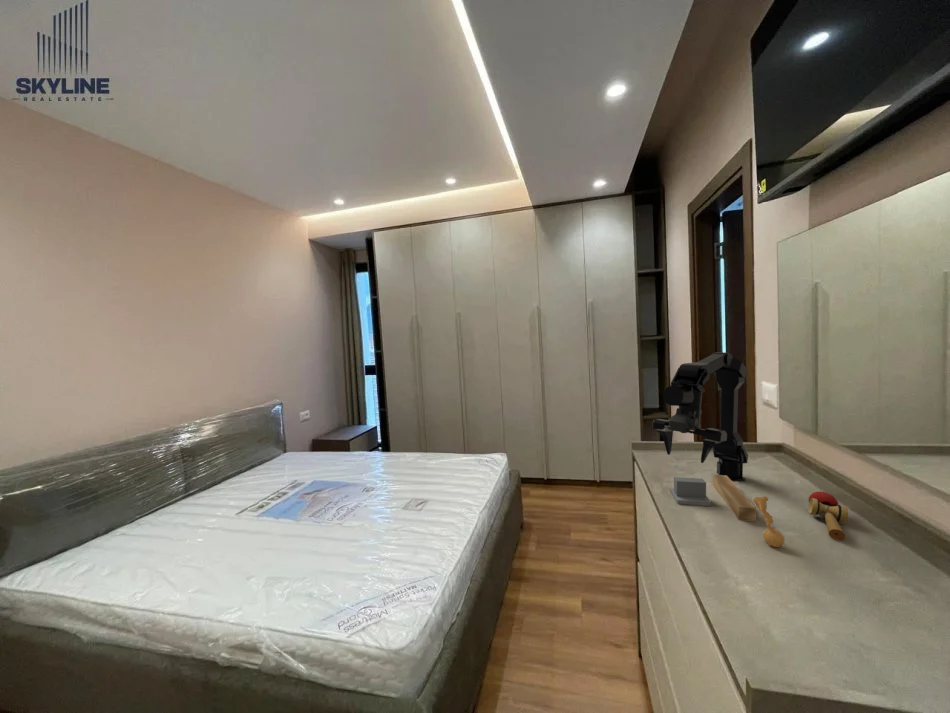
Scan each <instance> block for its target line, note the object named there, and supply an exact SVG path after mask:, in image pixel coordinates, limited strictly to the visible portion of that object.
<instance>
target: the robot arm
mask: <svg viewBox="0 0 950 713" xmlns="http://www.w3.org/2000/svg"><path fill="white" fill-rule="evenodd" d="M747 373H748V370H747V367H746V366H745V364H744V363H743V361H741V360H739V359H737V358H736V357H734V356H733V355H732V354H731V353H729V352H719V351H717V352H712V353H711V354H710V355H709V356H707V357H705V358H703V359H701V360H698V361H696V362H688V363H687V362H685V363H682V364H680V365H679V367H678V368H677V370H676V372H675V374H674V376H673V378H672V380H671V382H670V385H669V386H667V387H666V388H665V389H664V390H663V393H662V398H663V400H664V402H665V403H666V404H668V406H672V407H674V406H675V407H677V408H676V410H675V414H674V415H672V416H671V417H670V418H669V419H663V418H657V419H653V421H652V423H651V428H652V429H655V431H656V433H659V435H660V436H661V437H662V440H663V443H664V446H665V447H664V448H665V451H666V453H667V455H671V452H672V447H673V446H672V445H673V436H674V435H673V434H674V432H679V433H681V434H687V433H688V434H693V435H697V436H703V437H704V438H705V439H702V450H701V455H700V463H701V464H704V463H705V461H706V459H707V457H708V456H709V454H710V453H711V451H712V452H713V456H714V458H717V459H718V461H716V474H717V475H727V476H728V477H729V479H730V480H731V481H746V479H745V477H744V473H743V471H744V464H748V460H749V453H748V452H747V450H746V448H745V447H744V440H743V438H742V436H741V435H740V433H739V432H738V419H739V418H738V416H739V414H738V413H739V412H738V411H739V407H738V406H739V389H740V388H741V387H742V385H744V383H745V381H746V380H745V379H746V377H747ZM711 374H714V376H715V382H716V383H717V385H718V386H719V388H720V420H719V421H720V426H719V429H718V428H713V427H709V428H705V429H704V428H701V426H702V425H701V424H700V423H701V422H700V421H701V415H702V414H703V411H702V400H703V399H702V398H703V393H705V392H706V389H705V388H704V387H703V386H705V384H706V383H707V382H708V381H709V380H710V376H711Z"/></svg>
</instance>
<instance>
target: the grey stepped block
mask: <svg viewBox="0 0 950 713" xmlns="http://www.w3.org/2000/svg"><path fill="white" fill-rule="evenodd" d="M669 492H670V494H671V496H672V498H673V499H674V501H675V502H676V504H677V505H687V504H688V505H689V504H690V505H689V506H701V507H702V506H705V507H711V506H712V501H711V500H710V499H709V498H708V496H707V482H706V481H705V480H704V479H703V478H702V477H700V478H699V477H697V478H695V477H681V476H680V477H678V476H677V477H676V476H674V477H673V487H672V488H671V487H669Z"/></svg>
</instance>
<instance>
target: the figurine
mask: <svg viewBox="0 0 950 713" xmlns="http://www.w3.org/2000/svg"><path fill="white" fill-rule="evenodd" d="M752 501H753V504H754V505H755V506H756V509H758V511H759V512H760V513H761V514H762V516H763V518H764V519H765V524H766V525H765V526H766V527H767V528H766V529H765V530H764V531H763V533H762V538H763V540H764V542H765V543H766V544H767V545H769V546H770V547H775V548H780V547H782V546H783V545H784V544H785V537H784V534H782V532H780V531H779V530H778V529H775V527H772V526H771V525H772V524H773V523H775V521H774V519H773V516H772V515H771V514H770V513H769V512H768V511H767V510H768V505H767V502H768V501H769V499H768V497H767V496H766V495H763V496H755V497H753V499H752Z"/></svg>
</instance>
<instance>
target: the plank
mask: <svg viewBox="0 0 950 713" xmlns="http://www.w3.org/2000/svg"><path fill="white" fill-rule="evenodd" d="M712 486H714V487H713V488H714V489H715V491H716V492H717V493H718V495H719V496H720V497H721V498H722V499H723V501H724V502H725V504H726V505H727V507H728V508H729V509H730V510H731V512H732V513H733V515H734V516H735V517H736V519H737V520H739V521H747V522H748V521H749V522H757V507H755V506H754V503H752V502H751V500H750V499H748V498H747V497H746V495H745V494H744V493H743V492H742V491H741V490H740V489H739V488H738V486H737V485H736V484H735V483H734V482H733V480H730V479H729V477H728V476H727V475H719V474H712Z"/></svg>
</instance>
